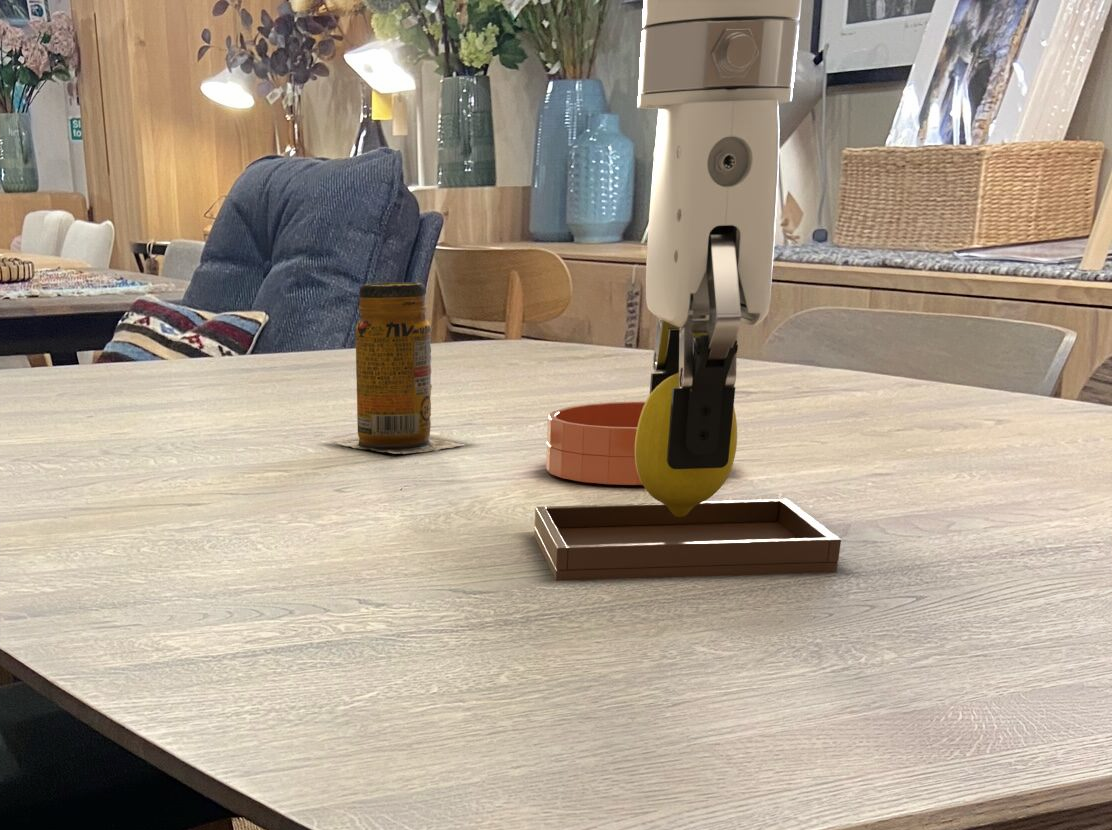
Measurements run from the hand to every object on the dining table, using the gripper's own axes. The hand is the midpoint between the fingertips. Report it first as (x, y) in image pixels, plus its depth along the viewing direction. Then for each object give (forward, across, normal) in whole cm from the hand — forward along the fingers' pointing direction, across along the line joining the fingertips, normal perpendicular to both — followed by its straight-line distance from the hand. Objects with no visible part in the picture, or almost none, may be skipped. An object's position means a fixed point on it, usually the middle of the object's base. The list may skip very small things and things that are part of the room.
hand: (685, 454), depth 80 cm
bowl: (+5, +26, -2) cm, 27 cm away
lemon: (+4, 0, 0) cm, 4 cm away
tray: (+5, 0, 0) cm, 5 cm away
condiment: (+6, +41, +15) cm, 44 cm away
